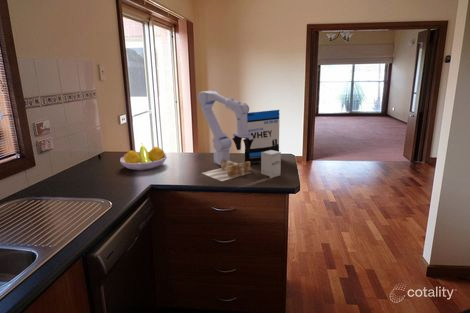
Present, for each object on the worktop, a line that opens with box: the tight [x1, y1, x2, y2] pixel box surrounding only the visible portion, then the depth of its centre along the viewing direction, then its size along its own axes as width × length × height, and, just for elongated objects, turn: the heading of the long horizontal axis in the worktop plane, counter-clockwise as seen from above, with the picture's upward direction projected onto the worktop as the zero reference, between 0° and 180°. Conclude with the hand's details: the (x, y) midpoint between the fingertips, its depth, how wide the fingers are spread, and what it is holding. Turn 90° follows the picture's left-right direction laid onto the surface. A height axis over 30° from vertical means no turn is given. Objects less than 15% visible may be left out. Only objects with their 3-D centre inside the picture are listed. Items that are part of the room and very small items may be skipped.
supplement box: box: [260, 150, 282, 179], centre depth 172 cm, size 7×7×13 cm
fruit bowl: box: [119, 142, 168, 172], centre depth 196 cm, size 28×27×11 cm
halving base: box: [201, 159, 253, 182], centre depth 177 cm, size 18×20×6 cm
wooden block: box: [227, 161, 251, 176], centre depth 175 cm, size 14×2×5 cm, turn 129°
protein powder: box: [243, 109, 280, 166], centre depth 196 cm, size 10×24×30 cm, turn 118°
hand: (243, 150), depth 184 cm, fingers open, 7 cm apart
